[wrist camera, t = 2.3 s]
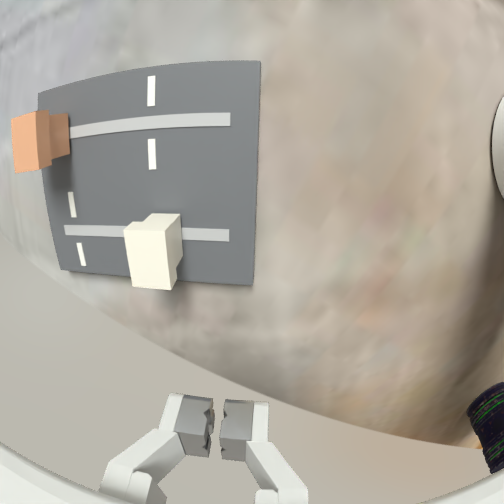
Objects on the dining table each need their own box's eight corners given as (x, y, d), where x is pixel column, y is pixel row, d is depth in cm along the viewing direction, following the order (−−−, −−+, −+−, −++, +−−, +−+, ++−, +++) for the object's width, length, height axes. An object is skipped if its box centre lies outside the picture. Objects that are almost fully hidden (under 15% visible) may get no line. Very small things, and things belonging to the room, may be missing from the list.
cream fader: (183, 209, 22) (164, 231, 18) (186, 260, 24) (171, 290, 20) (147, 208, 23) (123, 229, 18) (153, 258, 24) (132, 286, 20)
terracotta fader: (70, 107, 19) (35, 111, 15) (72, 157, 21) (39, 169, 17) (46, 114, 19) (11, 119, 15) (48, 161, 21) (15, 173, 17)
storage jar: (457, 419, 39) (479, 479, 25) (485, 385, 34) (516, 450, 21) (488, 410, 39) (511, 464, 25) (514, 378, 34) (544, 434, 21)
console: (260, 64, 19) (260, 60, 18) (253, 276, 27) (252, 285, 25) (47, 93, 20) (37, 93, 18) (68, 263, 28) (60, 270, 26)
